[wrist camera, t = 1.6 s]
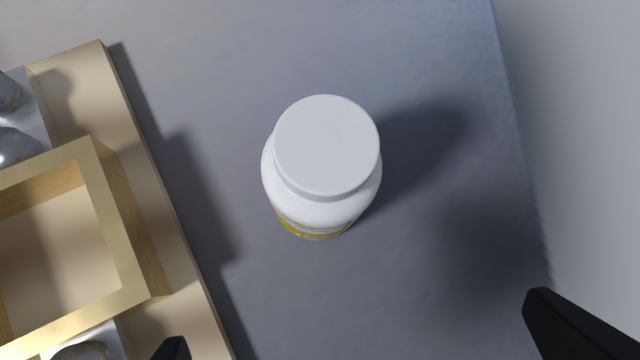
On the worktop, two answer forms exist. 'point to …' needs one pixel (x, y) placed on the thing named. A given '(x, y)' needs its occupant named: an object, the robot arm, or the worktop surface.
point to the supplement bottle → (321, 166)
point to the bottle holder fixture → (112, 212)
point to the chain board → (85, 231)
